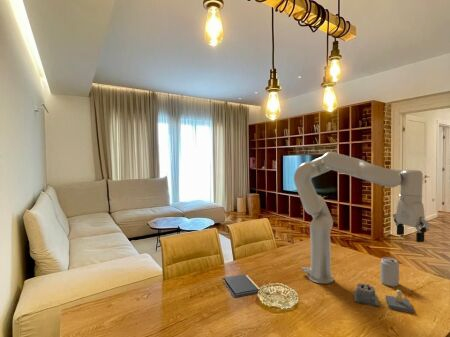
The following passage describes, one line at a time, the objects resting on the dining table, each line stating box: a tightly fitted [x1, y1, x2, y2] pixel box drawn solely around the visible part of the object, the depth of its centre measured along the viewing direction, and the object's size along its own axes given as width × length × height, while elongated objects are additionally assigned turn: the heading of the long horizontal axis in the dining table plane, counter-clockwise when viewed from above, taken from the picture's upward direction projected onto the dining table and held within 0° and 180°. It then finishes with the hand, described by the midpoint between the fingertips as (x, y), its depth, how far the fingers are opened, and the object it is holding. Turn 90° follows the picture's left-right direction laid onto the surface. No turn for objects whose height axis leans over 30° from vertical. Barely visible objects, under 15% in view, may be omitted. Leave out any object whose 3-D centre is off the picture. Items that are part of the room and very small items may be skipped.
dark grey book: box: [221, 274, 261, 299], centre depth 123 cm, size 20×2×15 cm
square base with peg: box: [385, 289, 414, 314], centre depth 104 cm, size 8×8×6 cm
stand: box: [353, 286, 380, 308], centre depth 109 cm, size 9×9×6 cm
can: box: [379, 256, 400, 288], centre depth 122 cm, size 8×8×12 cm
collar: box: [356, 283, 376, 302], centre depth 109 cm, size 7×7×4 cm
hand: (409, 238), depth 109 cm, fingers open, 9 cm apart
